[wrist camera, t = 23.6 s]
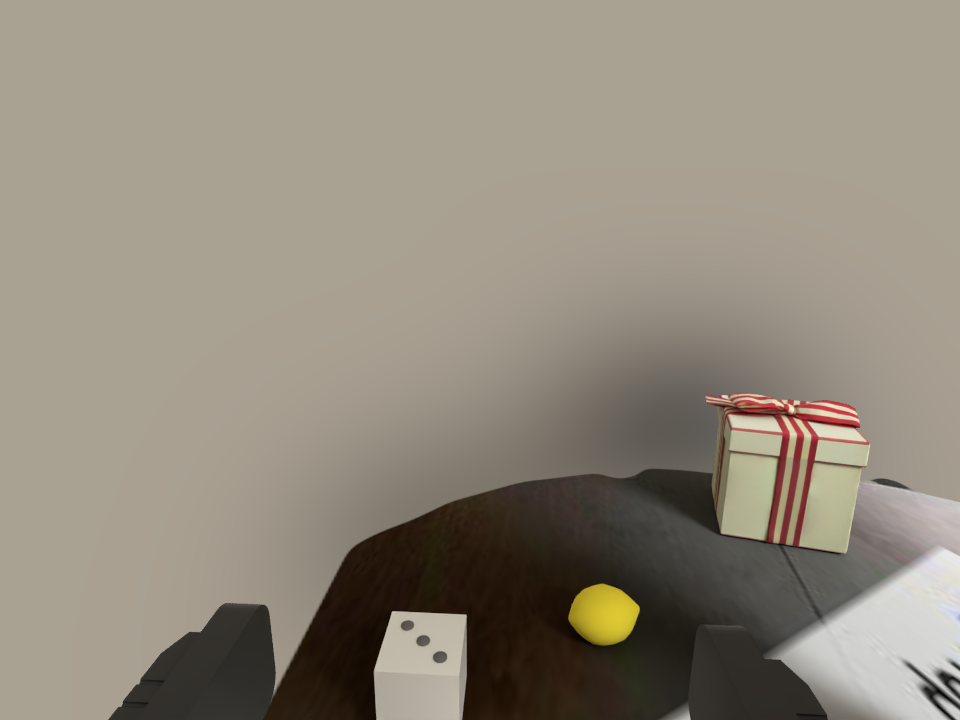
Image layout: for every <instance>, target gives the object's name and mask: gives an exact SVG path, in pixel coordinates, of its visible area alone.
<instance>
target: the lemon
mask: <svg viewBox="0 0 960 720" xmlns="http://www.w3.org/2000/svg"><path fill="white" fill-rule="evenodd" d="M639 611H640V608H639V606H638V605H637V604H636V603H635V602H634V601H633V600H632V599H631V598H630V597H629V596H628V595H626V594H625V593H624V592H623V591H622V590H620V589H618V588H615V587H612V586H608V585H605V584H598V585H594V586H590V587H588V588H586V589H584V590H582V591H581V592H580V593H579V594H578V595H577V596H576V597H575V600H574V602H573V604H572V606H571V610H570V613H569V617H568V620H569V622H570V623H571V625H572V626H573V627H574V629H575V630H576V632H577V633H579V634H580V635H581V636H582V637H583V638H584V639H586V640H587V641H589V642H590V643H592V644H594V645H613V644H616V643H618V642H621V641H623V640H625V639H626V638H627V637H628V635H629V634H630V633H631V631H632V629H633V627H634V625H635V622H636V620H637V617H638V614H639Z"/></svg>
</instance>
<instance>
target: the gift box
mask: <svg viewBox="0 0 960 720" xmlns="http://www.w3.org/2000/svg"><path fill="white" fill-rule="evenodd" d="M706 402H707V404H711V405H716V406H718V412H717V413H718V418H719V426H718V437H717V444H716V453H715V461H714V470H713V477H712V492H713V498H714V506H715V511H716V515H717V519H718V525H719V529H720V533H721V534H723V535H728V536H734V537H740V538H747V539H753V540H759V541H765V542H768V543H778V544H785V545H790V546H796V547H803V548H810V549H816V550H823V551H829V552H836V553H842V554H845V553H846V552H847V548H848V542H849V536H850V530H851V524H852V519H853V513H854V508H855V503H856V497H857V491H858V486H859V479H860V474H861V469H862V467H866V465H867V460H868V454H869V448H870V444H869V442H868V441H867V440H866V439H865V438H864V437H863V436H862V435H861V434H860V433H859V432H858V431H857V430H856V428H860V424H859V420H858V416H857V412H856V410H855V408H853V407H851V406H849V405H847V404H843V403H839V402H834V401H828V400H822V401H813V402H805V401H795V400H777V399H774V398H770V397H766V396H762V395H757V394H753V393H734V394H730V395H728V396H726V395H721V396H720V397H716V396H712V395H708V394H706Z"/></svg>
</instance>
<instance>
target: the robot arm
mask: <svg viewBox="0 0 960 720" xmlns="http://www.w3.org/2000/svg"><path fill="white" fill-rule="evenodd" d="M275 674H276V672H275V662H274V652H273V643H272V634H271V625H270V616H269V611H268V608H267V607H266V606H265V605H258V604H234V603H232V604H231V603H225V604H223V605H222V606H220V607H219V609H218V610H217V611H216V612H215V614H214V615H213V616H212V618H211V619H210V620H209V622H208V623H207V625H206V626H205V627H204V629H203V630H202V631H201V632H189V633H188V634H186V635H185V636H184V637H182V638H181V639H180V640H178V641H177V642H176V643H174V644H173V645H172V646H170V647H169V648H168V649H166V650H165V651H164V652H162V653H161V654H160V655H159V657H158V658H157V659H156V660H155V662H154V663H153V664H152V666H151V667H150V668H149V669H148V671H147V672H146V673H145V674H144V676H143V677H142V678H141V681H140V684H139V685H136V686H135V687H134V688H133V689H132V691H131V692H130V693H129V694H128V696H127V697H126V698H125V700H124V701H123V705H122V707H118V708H117V710H116V711H115V712H114V713H113V715H112V716H111V717H110V718H109V720H263V718H264V716H265V714H266V712H267V710H268V707H269V705H270V702H271V699H272V695H273V691H274V685H275ZM689 711H690V718H691V720H828V719H827V714H826V713H825V711H824V710H823V708H822V706H821V705H820V703H819V702H818V700H817V699H816V697H815V695H814V694H813V692H812V691H811V689H810V688H809V686H808V685H807V684H806V683H805V682H804V681H803V680H802V679H801V678H799V677H798V676H797V675H796V674H795V673H794V672H793V671H792V670H791V669H790V668H788V667H787V666H786V665H785V664H784V663H783V662H782V661H781V660H772V659H764V657H763V656H762V654H761V652H760V650H759V649H758V647H757V645H756V643H755V642H754V640H753V638H752V637H751V635H750V633H749V632H748V630H747V629H746V628H745V627H743V626H727V625H703V624H701V625H699V627H698V628H697V632H696V638H695V646H694V654H693V662H692V669H691V677H690V685H689Z"/></svg>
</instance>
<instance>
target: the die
mask: <svg viewBox="0 0 960 720" xmlns="http://www.w3.org/2000/svg"><path fill="white" fill-rule="evenodd" d="M466 677H467V615H460V614H439V613H418V612H397V611H392V614H391V617H390V621H389V624H388V627H387V630H386V634H385V637H384V640H383V643H382V646H381V650H380V653H379V656H378V659H377V663H376V666H375V669H374V684H375V702H376V720H462V715H463V705H464V696H465V686H466Z"/></svg>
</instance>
